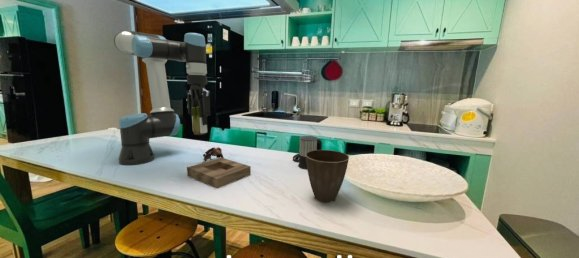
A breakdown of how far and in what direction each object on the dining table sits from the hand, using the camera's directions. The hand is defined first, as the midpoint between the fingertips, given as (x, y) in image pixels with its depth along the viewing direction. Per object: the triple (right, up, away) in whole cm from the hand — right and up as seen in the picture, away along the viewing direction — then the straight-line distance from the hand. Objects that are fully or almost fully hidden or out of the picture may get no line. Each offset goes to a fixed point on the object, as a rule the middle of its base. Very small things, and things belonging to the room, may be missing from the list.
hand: (199, 131), depth 96 cm
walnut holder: (+7, -19, +5) cm, 21 cm away
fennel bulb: (0, -2, 0) cm, 1 cm away
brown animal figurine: (-1, -16, +24) cm, 29 cm away
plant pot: (+50, -24, -13) cm, 57 cm away
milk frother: (+45, -17, +23) cm, 53 cm away
